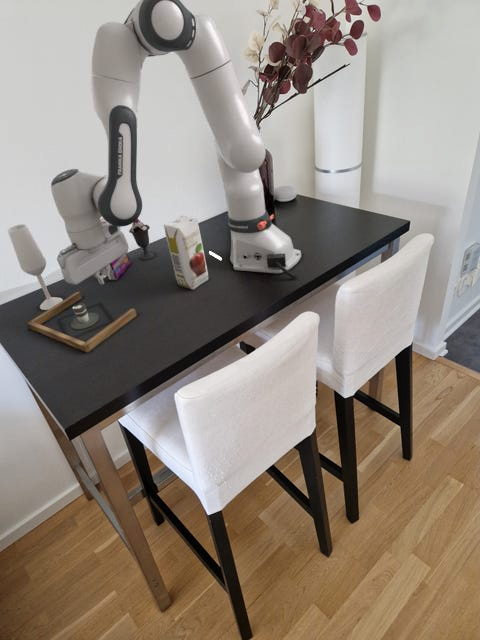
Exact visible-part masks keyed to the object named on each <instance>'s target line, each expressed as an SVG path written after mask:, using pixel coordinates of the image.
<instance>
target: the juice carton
mask: <svg viewBox="0 0 480 640" xmlns="http://www.w3.org/2000/svg"><path fill="white" fill-rule="evenodd" d="M163 228H164V233H165V234H164V235H165V239H166V242H167V247H168V251H169V255H170V260H171V263H172V267H173V272H174V275H175V276H174V277H175V279H176V282H177V284H178V286H180V287H183V288H185V289H188V290H195V289H197V288H198V287H199V286H201V285H203V284H204V283H206V282H207V281H208V280H209V271H208V267H207V261H206V256H205V251H204V246H203V241H202V235H201V231H200V226H199V221H198V218H195V217H190V216H185V215H180V216H179V217H176V219H174V220H173V221H170V222H168V223H165V224H163Z"/></svg>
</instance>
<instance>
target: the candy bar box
mask: <svg viewBox="0 0 480 640" xmlns="http://www.w3.org/2000/svg"><path fill="white" fill-rule="evenodd" d="M100 220H101V221H106V220H105V219H104V218H103V217H101V218H100ZM109 265H110V274H109V275H110V278H111V279H110V280H109V281H117V280H118V279H119V278H120V277H121V276H122V275H123V274H124V272H125V271H126V269H127V268H128V267H129V266H130V265H131V261H130V258H129V254H128V252H127V253H126V254H124V255H123V256H121V257H119V258H118V259H116V260H115V261H113V262H112V263H110V264H109ZM99 271H100V274H101V276H102V275H103V268H102V269H101V270H99Z"/></svg>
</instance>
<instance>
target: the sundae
mask: <svg viewBox="0 0 480 640" xmlns="http://www.w3.org/2000/svg"><path fill="white" fill-rule="evenodd" d="M149 230H150V226H149V225H148V224H145V223H143V222H142V221H141V220H140V219H139V217H138V218H137V220H136V221H135V222H133V223H132V224H131V227H130V228H129V231H128V232H129V233H130V234H132V236H133V238H134V241H135V244H136V245H137V247H140V248H142V250H143V254H141V255H140V256H139V259H140V260H142V261H149V260H151V259H153V258H154V257H155V254H154V253H153V252H149V251H148V248H147V247H148V246H149V244H150V237H149Z"/></svg>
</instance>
